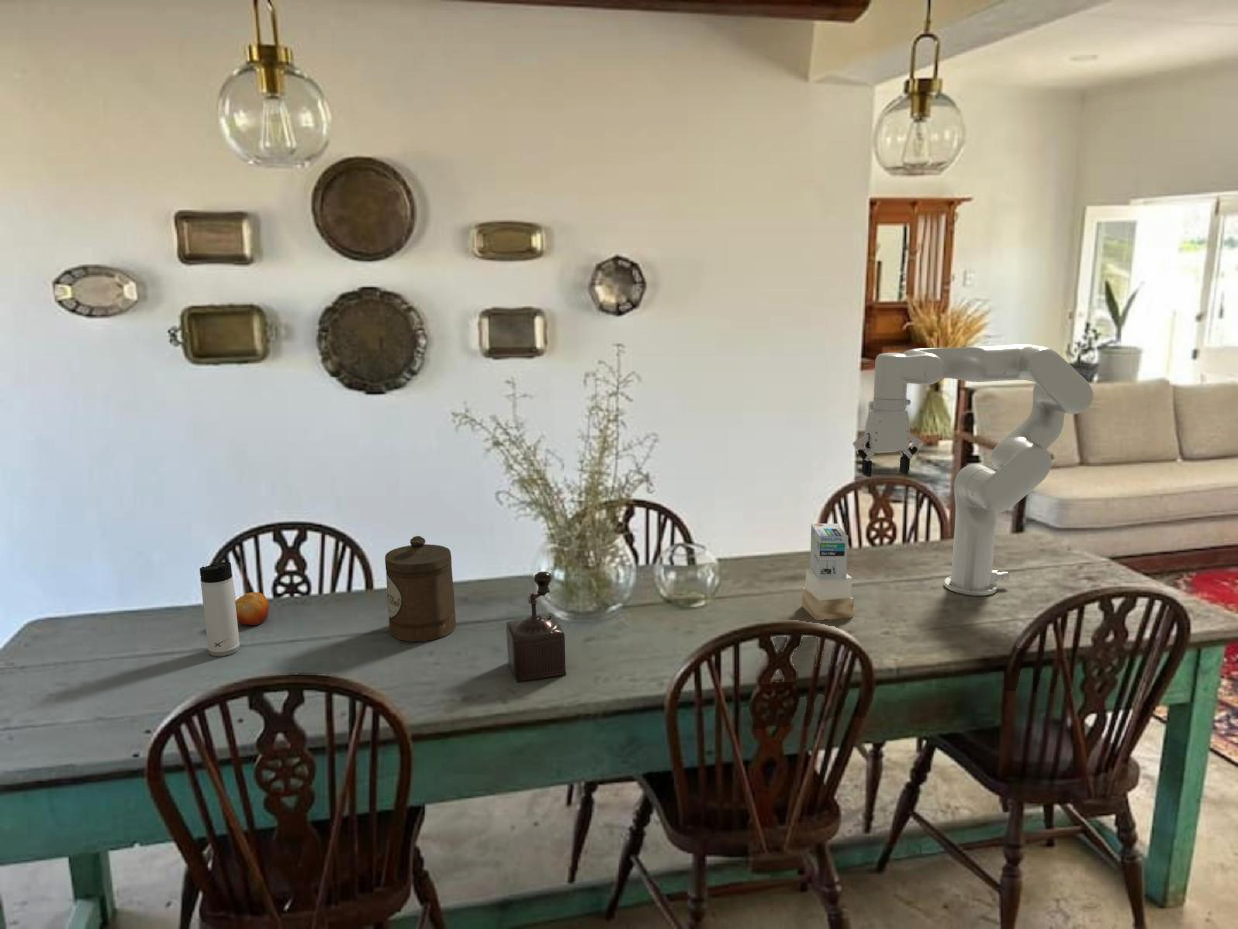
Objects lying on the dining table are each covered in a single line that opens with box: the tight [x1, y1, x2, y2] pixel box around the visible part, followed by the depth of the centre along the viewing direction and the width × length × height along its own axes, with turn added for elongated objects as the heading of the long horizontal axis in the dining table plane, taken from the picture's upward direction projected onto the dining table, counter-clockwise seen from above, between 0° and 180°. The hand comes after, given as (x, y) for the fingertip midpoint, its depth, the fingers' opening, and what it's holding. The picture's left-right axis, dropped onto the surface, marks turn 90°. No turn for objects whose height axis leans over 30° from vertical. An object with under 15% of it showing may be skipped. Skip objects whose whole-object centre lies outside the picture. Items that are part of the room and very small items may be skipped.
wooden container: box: [384, 535, 457, 643], centre depth 211 cm, size 15×15×22 cm
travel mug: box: [199, 561, 241, 657], centre depth 200 cm, size 6×7×20 cm
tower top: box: [804, 568, 853, 601], centre depth 220 cm, size 8×8×5 cm
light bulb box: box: [809, 522, 849, 580], centre depth 218 cm, size 11×7×11 cm, turn 0°
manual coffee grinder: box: [505, 571, 567, 684], centre depth 193 cm, size 16×11×18 cm
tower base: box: [801, 587, 855, 621], centre depth 221 cm, size 9×9×5 cm
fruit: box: [235, 591, 270, 626], centre depth 218 cm, size 8×8×8 cm
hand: (885, 474), depth 227 cm, fingers open, 9 cm apart
